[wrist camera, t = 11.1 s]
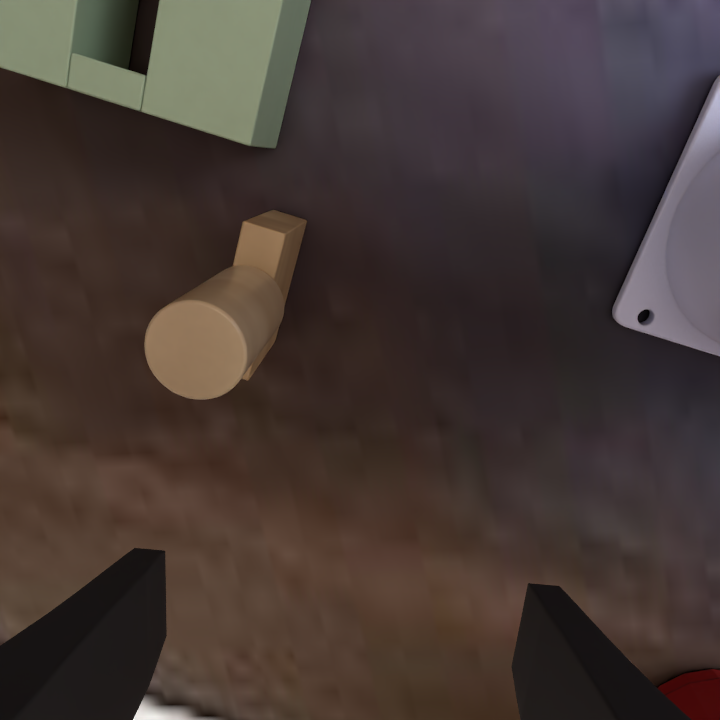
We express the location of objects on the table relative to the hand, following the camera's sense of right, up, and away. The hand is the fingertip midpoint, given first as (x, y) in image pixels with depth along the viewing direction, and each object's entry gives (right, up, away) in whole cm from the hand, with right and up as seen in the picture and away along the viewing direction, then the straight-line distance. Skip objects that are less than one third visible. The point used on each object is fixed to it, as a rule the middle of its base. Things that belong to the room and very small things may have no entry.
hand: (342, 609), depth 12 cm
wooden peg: (-3, +8, +9) cm, 12 cm away
